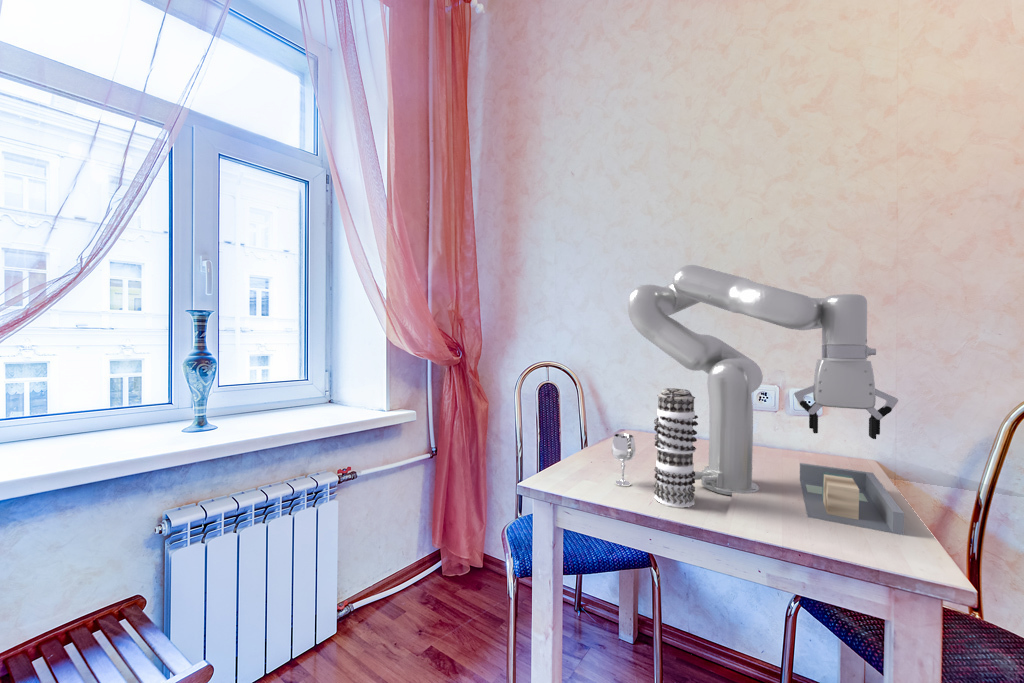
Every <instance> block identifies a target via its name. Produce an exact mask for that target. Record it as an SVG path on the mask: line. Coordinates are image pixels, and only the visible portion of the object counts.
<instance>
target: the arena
mask: <svg viewBox="0 0 1024 683" xmlns="http://www.w3.org/2000/svg"><path fill="white" fill-rule="evenodd" d="M823 472H827V473H834V474H841V475H848V476H851V477H852V478H853V480H854V482H855V483H856V485H857V487H858V488H859V519H858V520H857V519H852V518H846V517H841V516H835V515H830V514H827V511H826V508H825V505H824V502H823V499H822V489H823ZM799 483H800V487H801V491H802V496H803V497H802V498H803V502H804V505H805V511H806V515H807V518H811V519H816V520H820V521H821V520H822V521H827V522H831V523H837V524H843V525H846V526H847V525H848V526H853V527H858V528H862V529H869V530H874V531H878V532H884V533H889V534H895V535H899V536H904V532H905V528H904V527H905V526H904V525H905V513H904V511H903V509H902V508H901V507H900V506H899V505H898V504H897V502H896V501H895V499H893V497H892V496H891V494H890V493H889V492H888V490H887V489H886V488H885V487H884V485H883V484H882V483H881V481H880V480H879V479H878V478H877V476H876V475H875V474H874V472H868V471H862V470H854V469H847V468H841V467H834V466H827V465H826V466H825V465H819V464H818V465H817V464H810V463H804V462H800V463H799Z"/></svg>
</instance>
